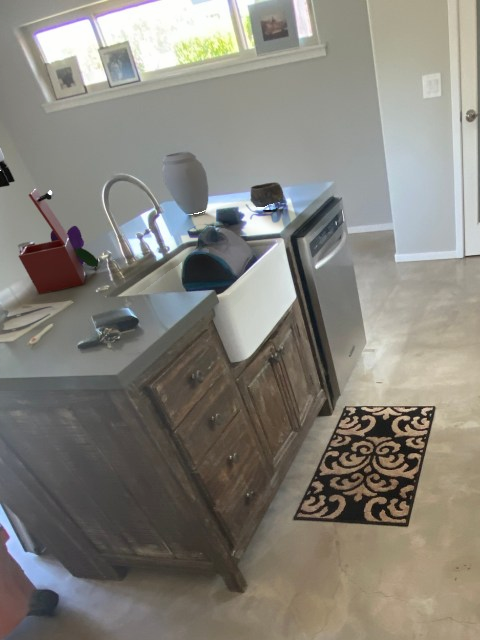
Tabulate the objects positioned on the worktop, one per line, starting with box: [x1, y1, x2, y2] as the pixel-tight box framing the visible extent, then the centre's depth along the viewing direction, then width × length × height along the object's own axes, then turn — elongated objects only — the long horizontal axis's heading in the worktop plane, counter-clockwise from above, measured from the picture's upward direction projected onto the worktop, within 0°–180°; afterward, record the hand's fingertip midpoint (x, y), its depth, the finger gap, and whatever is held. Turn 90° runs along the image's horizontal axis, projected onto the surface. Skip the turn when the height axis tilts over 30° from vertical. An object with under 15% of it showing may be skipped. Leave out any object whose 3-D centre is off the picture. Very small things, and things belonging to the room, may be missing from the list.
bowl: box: [249, 181, 285, 208], centre depth 234 cm, size 14×15×10 cm
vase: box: [161, 151, 209, 217], centre depth 241 cm, size 20×20×24 cm
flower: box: [50, 225, 99, 269], centre depth 193 cm, size 15×15×14 cm
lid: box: [28, 187, 68, 245], centre depth 172 cm, size 15×14×5 cm
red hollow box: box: [18, 238, 86, 295], centre depth 180 cm, size 15×14×12 cm
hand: (7, 184), depth 163 cm, fingers open, 9 cm apart
